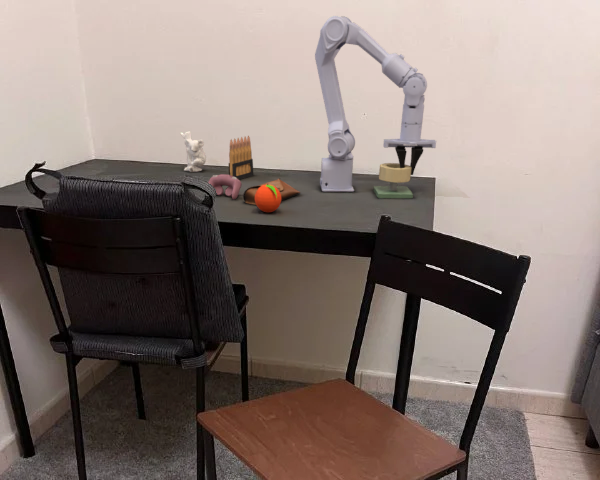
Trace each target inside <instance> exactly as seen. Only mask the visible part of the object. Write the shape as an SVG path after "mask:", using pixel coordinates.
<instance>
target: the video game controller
mask: <svg viewBox="0 0 600 480" xmlns="http://www.w3.org/2000/svg"><path fill="white" fill-rule="evenodd" d="M208 183H209V184H211V185H212V186H213V187H214V188H215V189H216V193H217V194H216V193H215V194H216V195H217V196H220V197H221V196H222V195H224V193H225V195H226V196H227V197H231V199H232V200H236V199H237V198H238V196H239V194H240V190H241V188H242V181H241V179H239V180H238V179H237V178H236V177H234V176H231V175H229V174H225V173H220V174H213V175H212V176H211V177H210V178H209V179H208V181H207V184H208ZM224 187H226V188H225V191H224Z"/></svg>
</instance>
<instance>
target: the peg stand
mask: <svg viewBox="0 0 600 480" xmlns="http://www.w3.org/2000/svg"><path fill="white" fill-rule="evenodd" d="M372 191H373V192H374V194H375V195H376V197H377V199H413V198H414V194H413V192H412V191H411V189H410V188H408V186H406V185H398V182H389V185H373V187H372Z"/></svg>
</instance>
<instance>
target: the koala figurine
mask: <svg viewBox="0 0 600 480" xmlns="http://www.w3.org/2000/svg"><path fill="white" fill-rule="evenodd" d="M179 134H180V136H181V137H182V138H183V139H184V145H185V148H186V163H187V164H186V166H185V167H184V169H183V171H187V172H189V173H195V172H197V173H198V172H202V171H203V169H202V168H201V167H203V166H205V164H206V161H207V155H206V152H205V150H204V149H203V147H204V145H205V142H204V140H203V139H198V140H197V139H192V132H191V131H190V130H188V131H185V132H184V133H183V132H182V131H181V132H180V133H179Z"/></svg>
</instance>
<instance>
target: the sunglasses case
mask: <svg viewBox="0 0 600 480" xmlns="http://www.w3.org/2000/svg"><path fill="white" fill-rule="evenodd" d="M267 184H268V185H273V186H275V187H276V188H277V189H278V190H279V191H280V194H281V202H282V201H284V200H288V199H291V198H294V197H295V196H297V195H300V194H301V191H299V190H297V189H296V188H294V187H293V186H292V185H289V184H288V183H286V182H285V181H283V180H281V178H280V177H279V178H277V179H275V180H272V181H268V182H264V183H261V184H258V185H253V186H250V187H248V188H246V189H245V190H244V193H243V195H242V199H243V201H244V203H245V204H248V205H253V206H257V205H256V203H255V194H256V191H257V190H258V188H260V187H261V186H262V185H267Z"/></svg>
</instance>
